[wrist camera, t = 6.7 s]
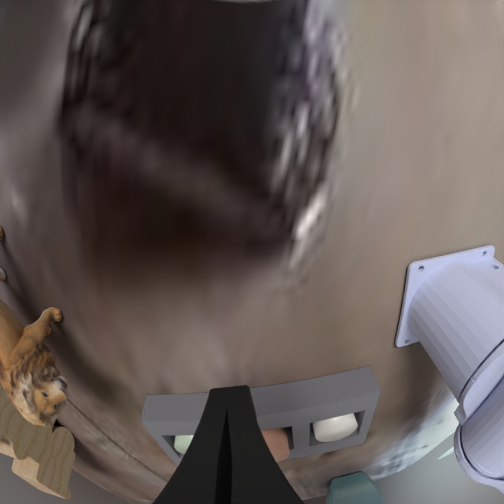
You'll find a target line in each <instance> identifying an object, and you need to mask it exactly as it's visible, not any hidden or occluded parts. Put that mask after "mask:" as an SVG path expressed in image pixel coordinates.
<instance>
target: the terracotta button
mask: <svg viewBox="0 0 504 504" xmlns="http://www.w3.org/2000/svg"><path fill="white" fill-rule="evenodd" d="M261 432H262V434H263V437H264V439H265V441H266V443H267V445H268V447H269V449H270V451H271V453H272V455H273V457H274V459H275V461H276V462H279V461H282V460H284V459H286V458H287V457H288V456H289V454H290V452H289V445H288V439H287V433H286V427H283V428H276V429H269V430H261Z"/></svg>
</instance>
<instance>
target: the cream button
mask: <svg viewBox="0 0 504 504" xmlns="http://www.w3.org/2000/svg"><path fill="white" fill-rule="evenodd" d="M312 425H313V429H314V433H315V438H316V439H317V440H318V441H322V442H331V441H336V440H339V439H342V438H345V437H347V436H348V435H350V434H351V433H353V432H354V431H355V430H356V428H357V426H358V424H357V421H356V418H355V415H354V413H352V414H348V415H344V416H339V417H335V418H331V419H326V420H322V421H317V422H312Z"/></svg>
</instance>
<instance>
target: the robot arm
mask: <svg viewBox="0 0 504 504" xmlns="http://www.w3.org/2000/svg"><path fill="white" fill-rule="evenodd" d="M494 251H495V248H494V247H493V246H492V245H488V246H483V247H479V248H475V249H471V250H466V251H462V252H457V253H453V254H448V255H444V256H439V257H435V258H430V259H425V260H420V261H416V262H412V263H411V264H410V265H409V267H408V271H407V278H406V285H405V292H404V298H403V305H402V310H401V316H400V321H399V326H398V331H397V336H396V341H395V344H396V346H397V347H402V346H406V345H409V344H412V343H416V342H420V343H421V345H422V346H423V348H424V349H425V350H426V352H427V353H428V355H429V356H430V358H431V360H432V361H433V363H434V364H435V366H436V367H437V369H438V370H439V372H440V373H441V375H442V377H443V378H444V380H445V381H446V383H447V384H448V386H449V388H450V389H451V391H452V393H453V394H454V396H455V398H456V399H457V401H458V403H459V406H458V408H457V409H456V411H455V412H454V414H455V416H456V418H457V419H458V421H459V425H458V427H457V429H456V431H455V435H454V450H455V454H456V458H457V460H458V463H459V464H460V466H461V468H462V469H463V470H464V472H465V473H466V474H467V475H468V476H469V477H470V478H472V479H473V480H475V481H476V482H479V483H482V484H487V485H491V486H493V487H496V488H497V489H498V490H500V491H501V492H502V493H503V494H504V265H503V264H501V263H500V262H499V261H497V260H496V259H495V258H493V256H494ZM420 266H421V268H420V269H419V267H420ZM418 269H419V270H418ZM152 504H304V503H303V501H302V500H301V499H300V497H299V496H298V495H297V493H296V492H295V491H294V489H293V488H292V486H291V485H290V483H289V482H288V480H287V479H286V477H285V476H284V474H283V473H282V471H281V469H280V468H279V466H278V464H277V462H276V461H275V459H274V457H273V455H272V453H271V451H270V449H269V447H268V445H267V443H266V441H265V439H264V437H263V434H262V432H261V430H260V427H259V425H258V422H257V416H256V411H255V407H254V403H253V399H252V395H251V392H250V388H249V387H248V386H246V385H244V386H235V387H225V388H214V389H211V390H210V392H209V396H208V399H207V402H206V405H205V408H204V411H203V414H202V417H201V419H200V422H199V424H198V427H197V429H196V431H195V434H194V436H193V438H192V440H191V443H190V445H189V447H188V449H187V451H186V453H185V454H184V456H183V458H182V460H181V462H180V464H179V466H178V467H177V469H176V471H175V472H174V474H173V476H172V477H171V479H170V480H169V482H168V483H167V485H166V486H165V488H164V489H163V490H162V492H161V493H160V494H159V496H158V497H157V498H156V500H155V501H154V502H153V503H152Z"/></svg>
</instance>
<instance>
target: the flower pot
mask: <svg viewBox="0 0 504 504" xmlns="http://www.w3.org/2000/svg"><path fill="white" fill-rule="evenodd" d="M325 504H385V503H384V501H383V498H382V496H381V494H380V492H379V490H378V488H377V486H376V485H375V483H374V482H373V481H372V480H371V479H370V478H369V477H368V476H367V475H365V474H364V473H362V472H357V473H354V474H350V475H346V476H342V477H338V478H334V479H332V480H331V483H330V487H329V490H328V493H327V497H326V502H325Z"/></svg>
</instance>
